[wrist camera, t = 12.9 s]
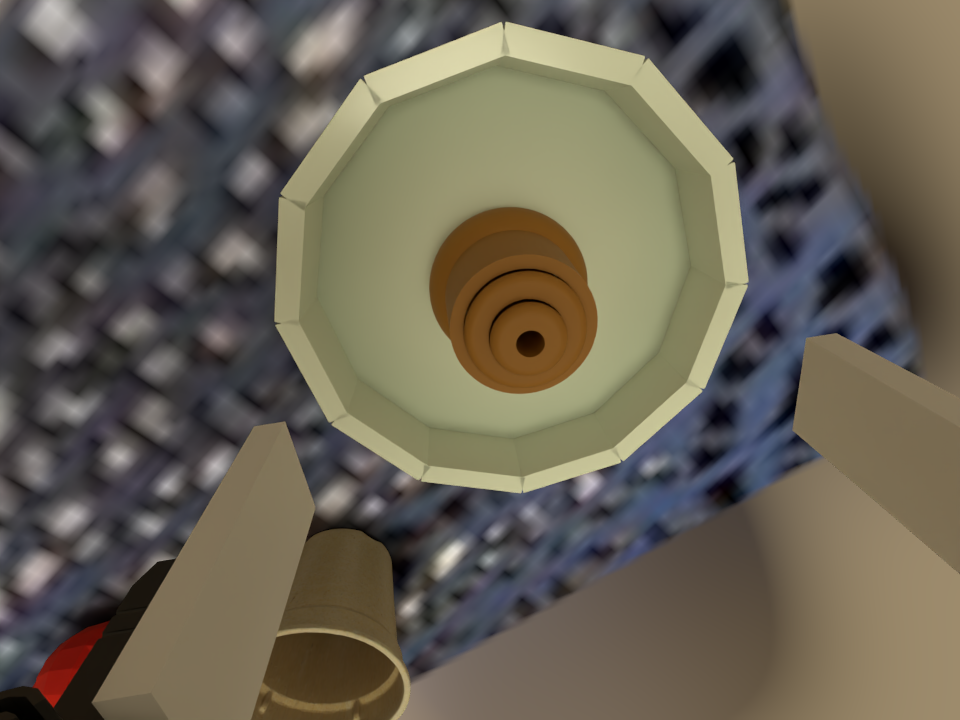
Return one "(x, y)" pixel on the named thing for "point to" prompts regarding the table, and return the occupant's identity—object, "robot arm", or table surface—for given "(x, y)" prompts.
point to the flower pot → (337, 637)
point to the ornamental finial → (514, 300)
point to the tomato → (66, 662)
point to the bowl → (495, 184)
